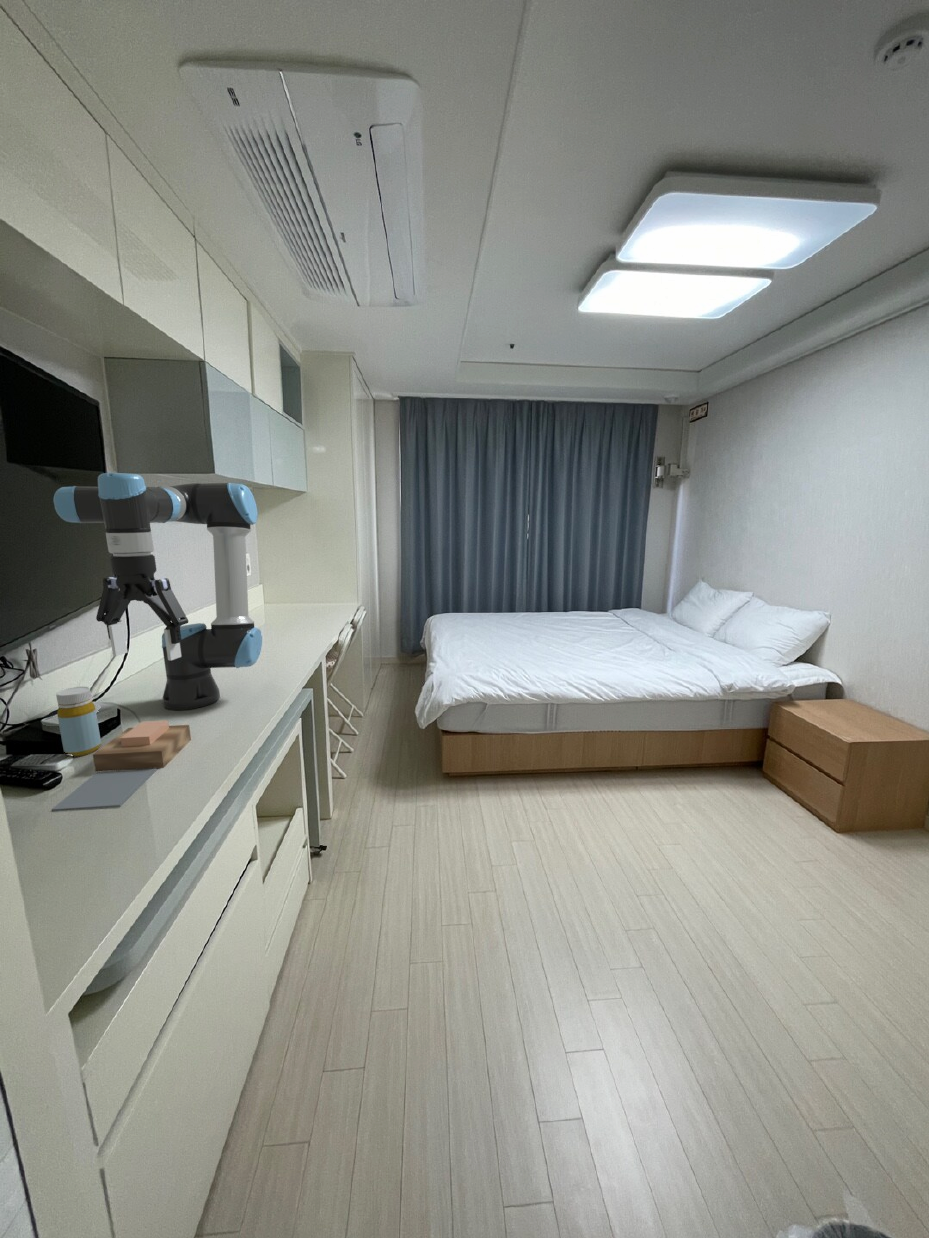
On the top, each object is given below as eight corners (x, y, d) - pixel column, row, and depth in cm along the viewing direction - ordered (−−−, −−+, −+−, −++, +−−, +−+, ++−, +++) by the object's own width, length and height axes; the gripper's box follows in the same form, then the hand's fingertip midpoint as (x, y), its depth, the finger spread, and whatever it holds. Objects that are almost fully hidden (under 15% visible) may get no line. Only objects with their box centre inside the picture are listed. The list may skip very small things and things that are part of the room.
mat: (97, 773, 105) (97, 771, 105) (156, 770, 106) (156, 768, 106) (51, 811, 91) (51, 809, 91) (120, 806, 93) (120, 804, 93)
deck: (130, 742, 119) (128, 727, 119) (191, 739, 121) (189, 724, 120) (95, 771, 106) (92, 754, 105) (163, 767, 107) (161, 750, 107)
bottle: (105, 742, 120) (96, 684, 117) (96, 754, 113) (86, 693, 110) (71, 746, 117) (60, 687, 114) (59, 759, 111) (48, 697, 108)
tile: (142, 729, 118) (141, 721, 117) (169, 728, 118) (168, 720, 118) (121, 746, 109) (120, 737, 108) (150, 744, 110) (149, 736, 109)
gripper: (63, 554, 96) (81, 657, 100) (169, 557, 90) (184, 665, 95) (98, 551, 103) (114, 647, 107) (199, 553, 97) (211, 655, 102)
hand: (147, 656), depth 101 cm, fingers open, 13 cm apart
